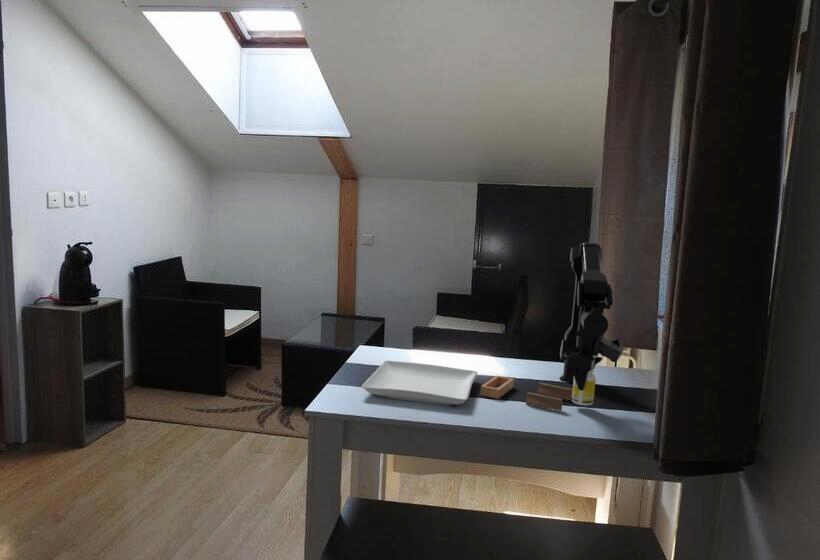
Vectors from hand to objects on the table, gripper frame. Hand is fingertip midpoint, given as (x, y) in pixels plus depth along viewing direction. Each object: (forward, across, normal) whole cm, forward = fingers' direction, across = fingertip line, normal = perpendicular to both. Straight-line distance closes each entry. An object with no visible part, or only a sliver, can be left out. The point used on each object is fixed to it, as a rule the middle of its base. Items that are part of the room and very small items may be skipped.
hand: (583, 387), depth 165 cm
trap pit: (+6, 0, +23) cm, 24 cm away
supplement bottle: (+4, 0, 0) cm, 4 cm away
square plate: (+6, -11, +40) cm, 42 cm away
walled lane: (+6, 0, +8) cm, 10 cm away
